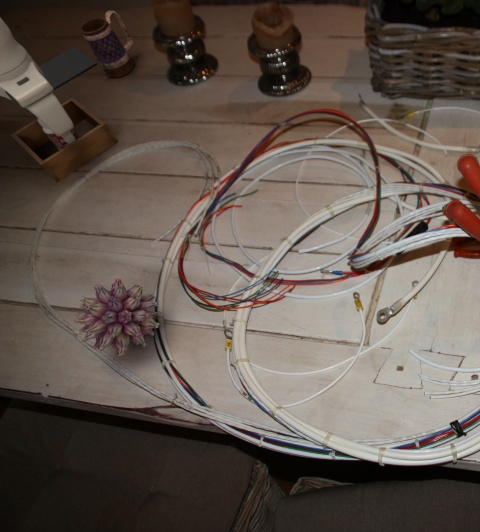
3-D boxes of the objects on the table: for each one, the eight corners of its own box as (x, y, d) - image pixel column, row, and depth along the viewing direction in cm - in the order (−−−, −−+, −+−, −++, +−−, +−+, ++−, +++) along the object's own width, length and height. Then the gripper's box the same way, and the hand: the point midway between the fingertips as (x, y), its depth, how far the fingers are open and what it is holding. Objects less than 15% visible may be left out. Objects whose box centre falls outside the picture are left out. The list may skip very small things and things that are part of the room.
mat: (53, 90, 129) (52, 88, 129) (32, 72, 135) (31, 70, 134) (97, 64, 134) (96, 62, 133) (74, 47, 139) (74, 46, 139)
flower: (132, 305, 93) (188, 303, 89) (98, 368, 86) (157, 369, 82) (83, 264, 85) (142, 260, 81) (40, 331, 78) (103, 330, 74)
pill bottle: (74, 156, 115) (48, 125, 108) (56, 153, 116) (30, 122, 109) (87, 141, 117) (63, 110, 110) (70, 137, 118) (45, 107, 112)
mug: (118, 81, 128) (89, 35, 119) (100, 73, 131) (70, 28, 121) (150, 57, 133) (125, 11, 123) (132, 50, 135) (105, 4, 126)
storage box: (57, 182, 111) (41, 165, 107) (26, 152, 117) (10, 134, 113) (118, 141, 116) (105, 123, 112) (85, 115, 122) (72, 97, 118)
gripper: (-23, 64, 105) (25, 120, 117) (21, 104, 96) (69, 160, 107) (7, 48, 108) (52, 104, 119) (53, 85, 98) (96, 142, 110)
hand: (60, 131), depth 113 cm, fingers open, 8 cm apart
